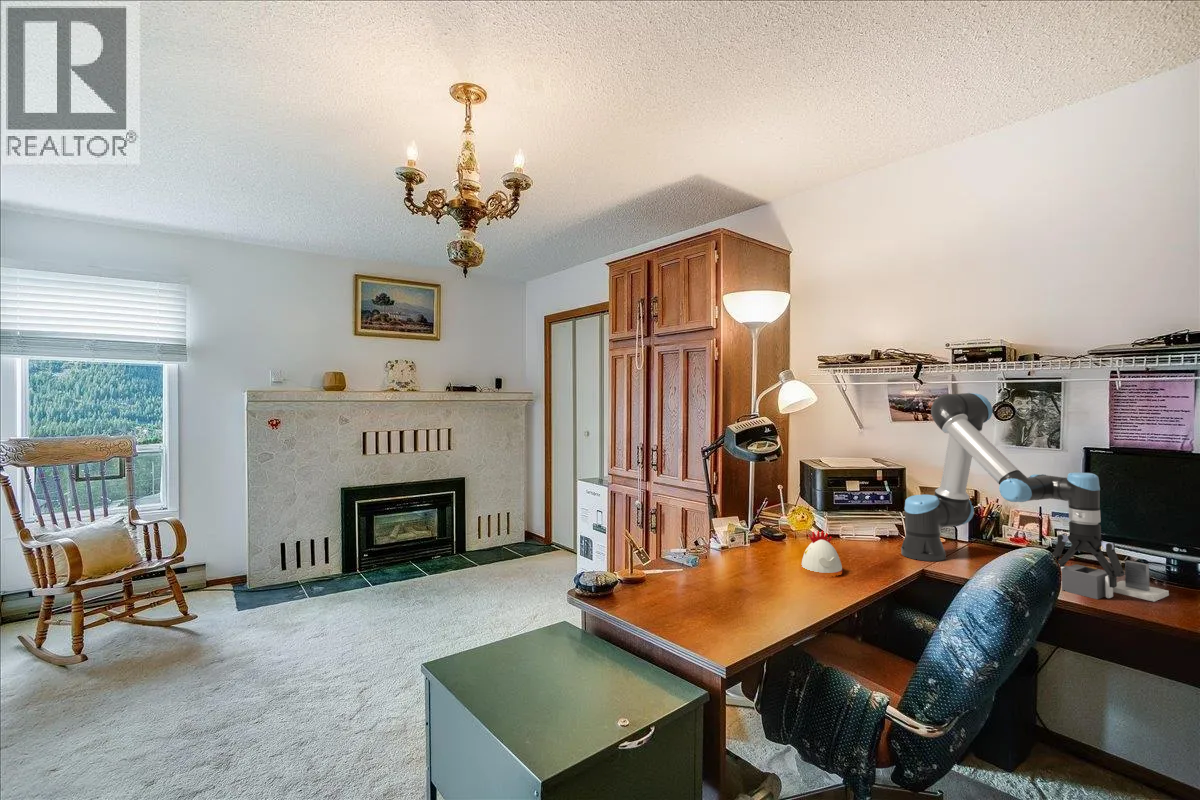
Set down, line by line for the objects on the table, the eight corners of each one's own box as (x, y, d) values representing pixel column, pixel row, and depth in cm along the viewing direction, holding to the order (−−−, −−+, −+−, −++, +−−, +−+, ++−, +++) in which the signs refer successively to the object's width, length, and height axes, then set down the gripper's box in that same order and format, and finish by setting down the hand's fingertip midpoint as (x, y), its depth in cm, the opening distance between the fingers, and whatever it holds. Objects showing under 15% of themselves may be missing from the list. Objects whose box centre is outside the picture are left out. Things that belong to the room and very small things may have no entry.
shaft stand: (1107, 590, 173) (1106, 560, 173) (1122, 585, 178) (1121, 555, 178) (1154, 601, 164) (1153, 570, 163) (1168, 595, 168) (1167, 564, 168)
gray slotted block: (1062, 590, 175) (1061, 567, 175) (1076, 585, 179) (1075, 563, 179) (1097, 599, 167) (1096, 575, 167) (1111, 593, 170) (1111, 570, 170)
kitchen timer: (796, 566, 207) (795, 526, 207) (832, 565, 207) (831, 525, 207) (810, 578, 194) (808, 536, 194) (848, 577, 193) (847, 534, 193)
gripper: (1035, 516, 181) (1037, 583, 181) (1126, 530, 161) (1128, 605, 161) (1048, 514, 185) (1049, 579, 185) (1138, 527, 164) (1140, 600, 164)
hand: (1086, 591), depth 173 cm, fingers open, 11 cm apart
